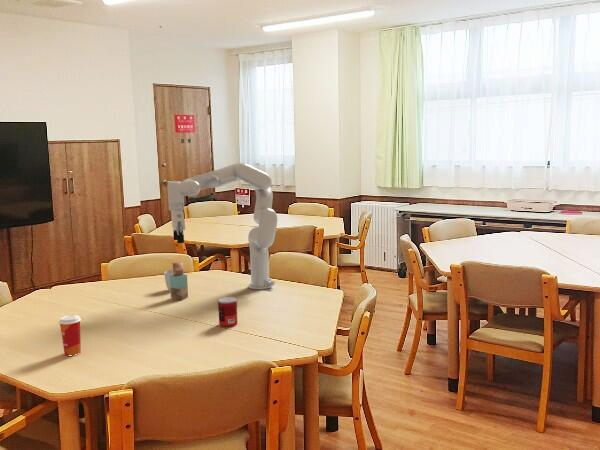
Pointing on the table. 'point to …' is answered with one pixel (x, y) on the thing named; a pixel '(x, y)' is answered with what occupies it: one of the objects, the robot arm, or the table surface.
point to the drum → (178, 269)
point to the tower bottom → (179, 293)
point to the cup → (168, 278)
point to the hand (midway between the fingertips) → (178, 241)
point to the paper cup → (71, 334)
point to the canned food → (227, 311)
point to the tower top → (178, 281)
